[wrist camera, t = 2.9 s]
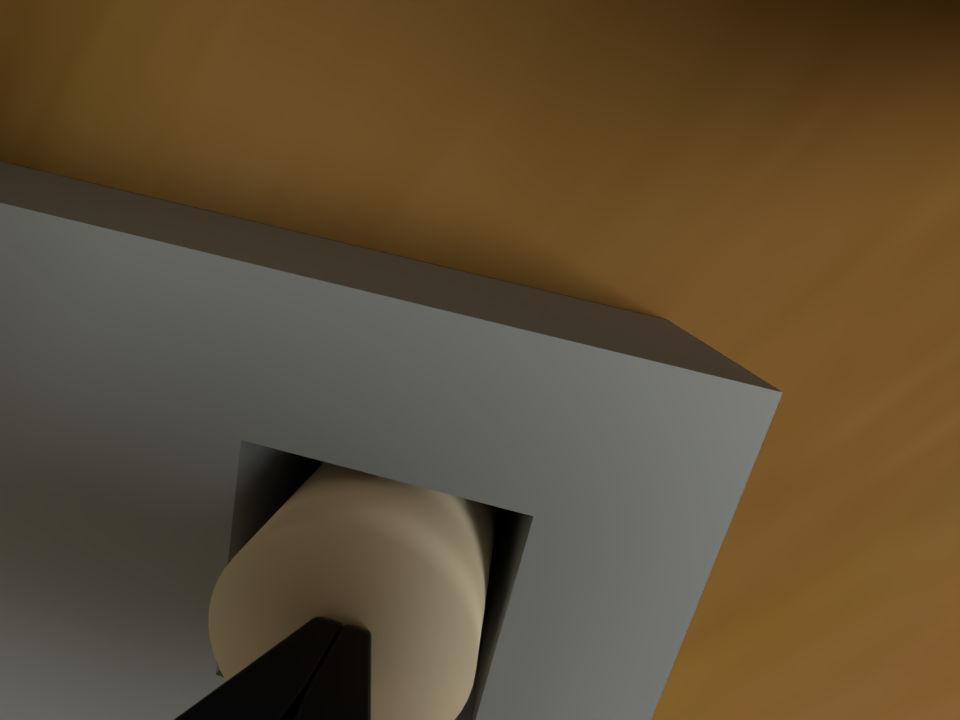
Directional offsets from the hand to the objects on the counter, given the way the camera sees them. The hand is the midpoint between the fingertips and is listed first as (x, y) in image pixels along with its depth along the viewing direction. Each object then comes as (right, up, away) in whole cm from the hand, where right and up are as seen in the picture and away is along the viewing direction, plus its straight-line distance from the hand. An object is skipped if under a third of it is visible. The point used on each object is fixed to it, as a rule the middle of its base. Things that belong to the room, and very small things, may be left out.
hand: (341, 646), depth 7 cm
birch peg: (+1, +1, +6) cm, 6 cm away
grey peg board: (-5, +3, +7) cm, 9 cm away
